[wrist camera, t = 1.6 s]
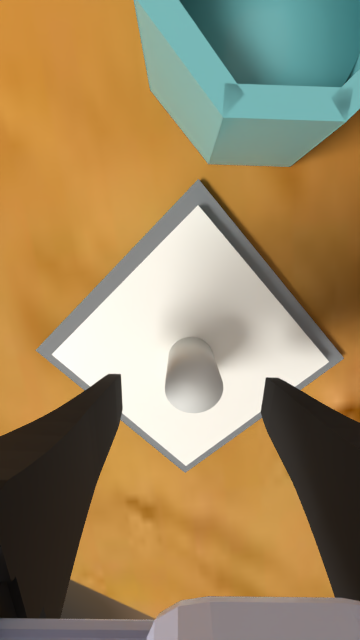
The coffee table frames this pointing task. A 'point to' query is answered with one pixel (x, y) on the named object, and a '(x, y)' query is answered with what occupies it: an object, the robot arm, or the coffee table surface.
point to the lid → (191, 341)
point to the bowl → (253, 73)
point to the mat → (142, 251)
